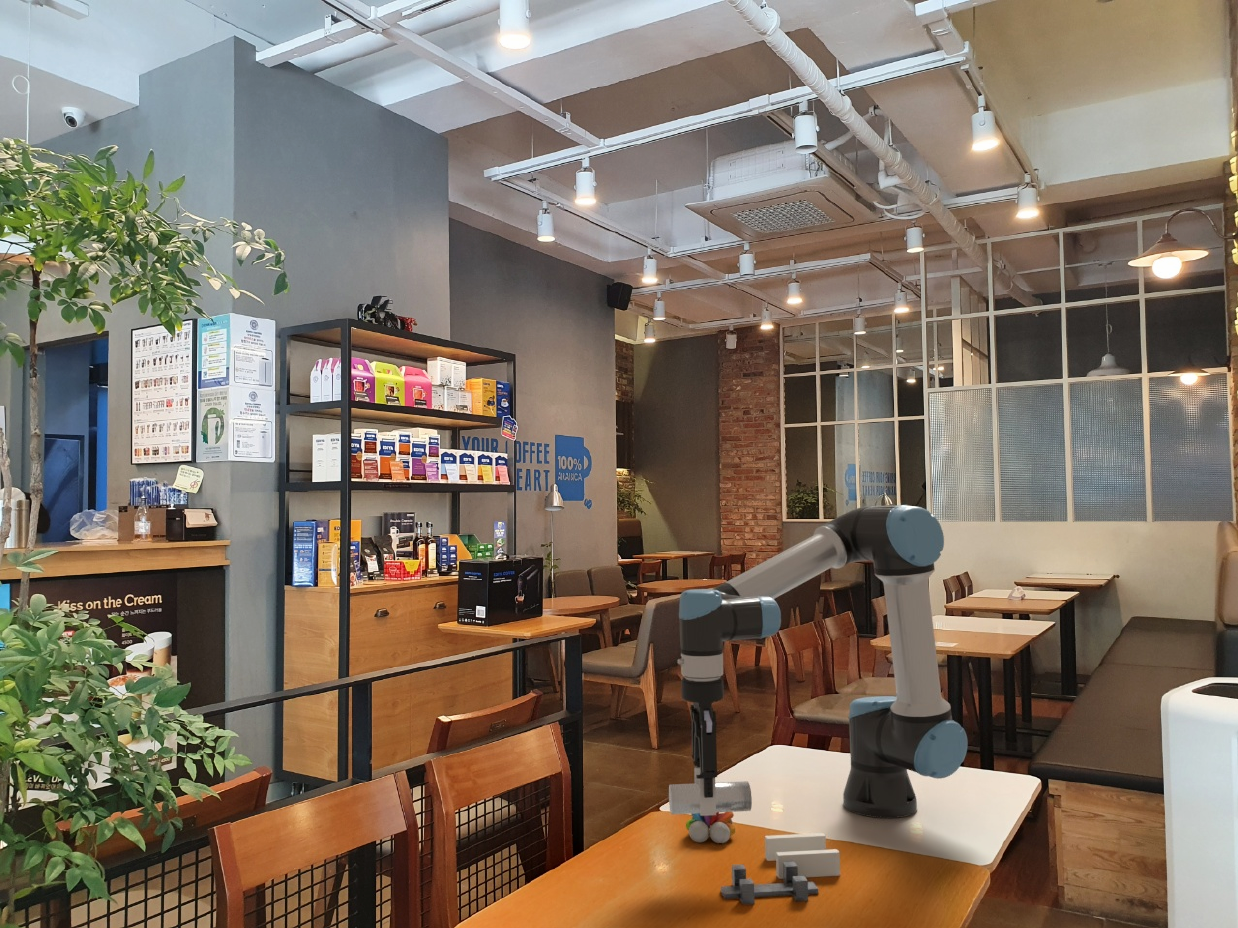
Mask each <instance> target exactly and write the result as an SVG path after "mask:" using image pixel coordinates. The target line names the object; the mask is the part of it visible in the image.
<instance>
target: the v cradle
mask: <svg viewBox="0 0 1238 928" xmlns="http://www.w3.org/2000/svg"><path fill="white" fill-rule="evenodd" d="M731 880H732V881H731V883H732V885H728V886H727V885H725V886H723V885H722V886H720V892H721V895H722V896H723V899H724V900H731V899H734V900H735V899H739V901H740V902H741V904H742V905H744V906H745V905H755V903H756V901H755V898H767V897H784V896H785V897H786V896H792V897H793V899H794V900H795V902H796V903H797V902H808V901H809V895H818V894H819V888H818V886H817V885H816V883H815V882H814V881H808V879H807V877H805V876H798V866H797V865H796V863H795V862H783V879H782V881H783V882H780V883H761V884H755V882H754V880H753V878H747V869H746V867H745V865H744V864H732V865H731Z"/></svg>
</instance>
